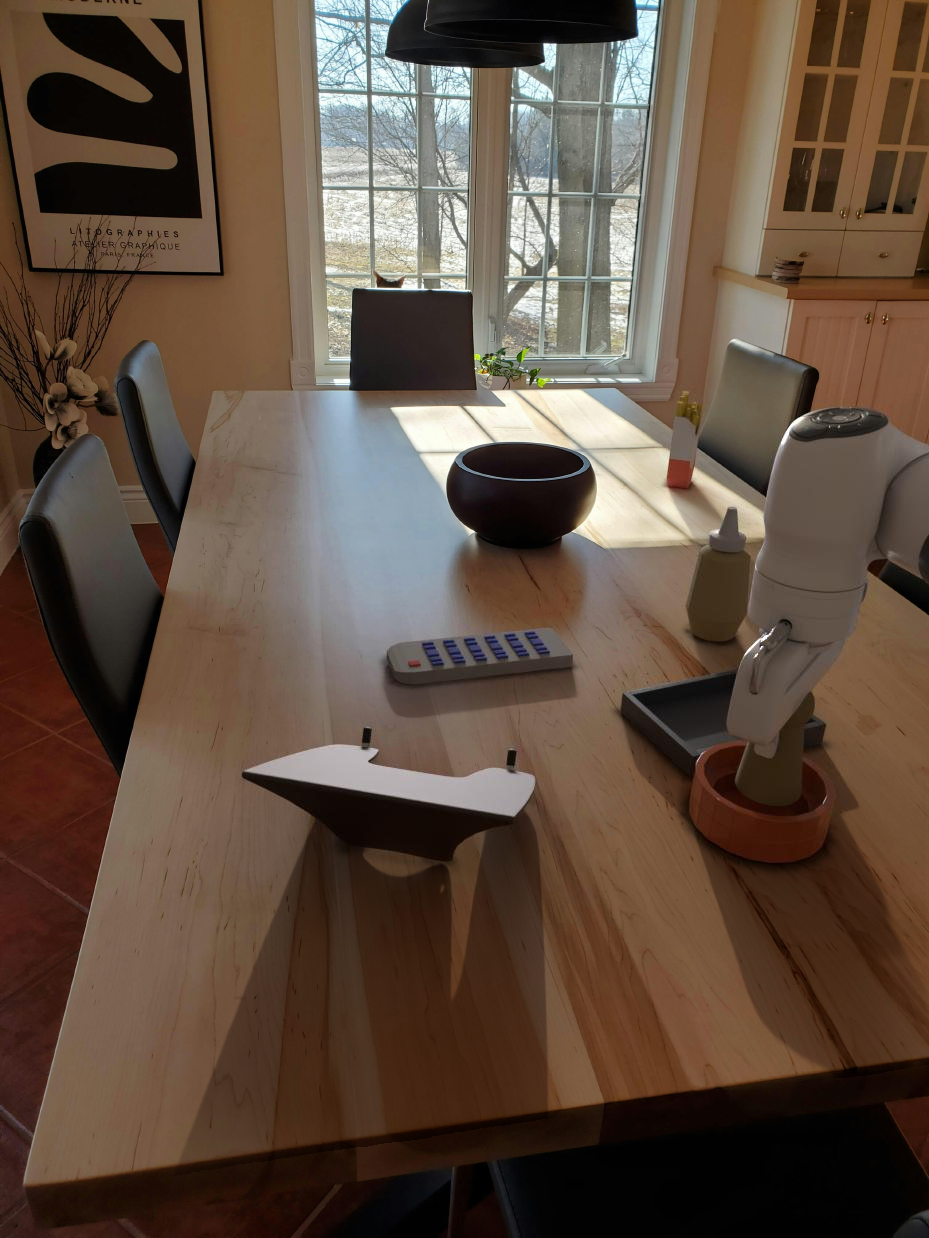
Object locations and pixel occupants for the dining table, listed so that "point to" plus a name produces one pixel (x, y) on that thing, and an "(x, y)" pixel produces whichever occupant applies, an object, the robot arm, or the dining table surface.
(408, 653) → the remote control
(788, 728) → the olive green bottle
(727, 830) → the bowl
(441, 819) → the laptop tray
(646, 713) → the tray
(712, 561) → the squeeze bottle
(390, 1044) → the dining table surface
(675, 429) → the french fries container
